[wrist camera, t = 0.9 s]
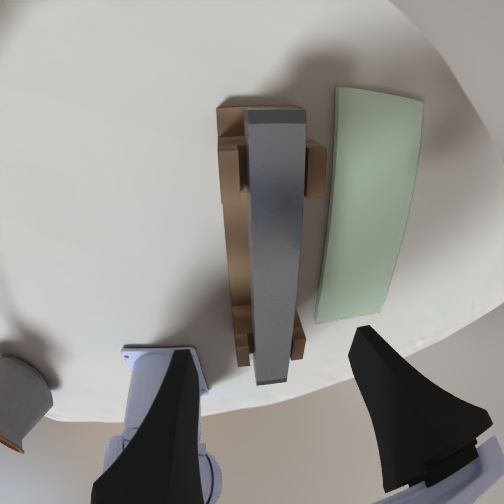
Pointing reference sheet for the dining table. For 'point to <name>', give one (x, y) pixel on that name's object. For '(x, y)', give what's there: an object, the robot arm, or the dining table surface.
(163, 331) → the dining table surface
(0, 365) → the coffee pot
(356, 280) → the pad
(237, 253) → the rack
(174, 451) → the robot arm
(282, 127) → the rail
